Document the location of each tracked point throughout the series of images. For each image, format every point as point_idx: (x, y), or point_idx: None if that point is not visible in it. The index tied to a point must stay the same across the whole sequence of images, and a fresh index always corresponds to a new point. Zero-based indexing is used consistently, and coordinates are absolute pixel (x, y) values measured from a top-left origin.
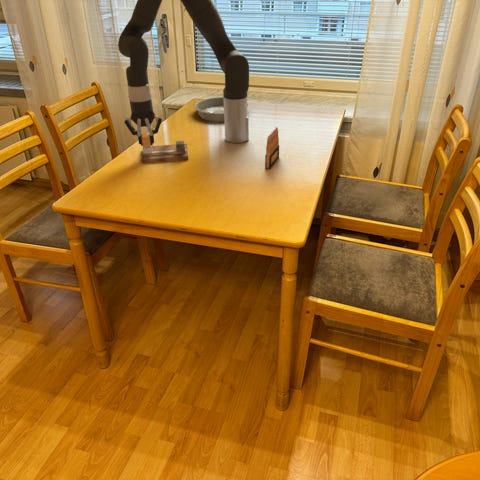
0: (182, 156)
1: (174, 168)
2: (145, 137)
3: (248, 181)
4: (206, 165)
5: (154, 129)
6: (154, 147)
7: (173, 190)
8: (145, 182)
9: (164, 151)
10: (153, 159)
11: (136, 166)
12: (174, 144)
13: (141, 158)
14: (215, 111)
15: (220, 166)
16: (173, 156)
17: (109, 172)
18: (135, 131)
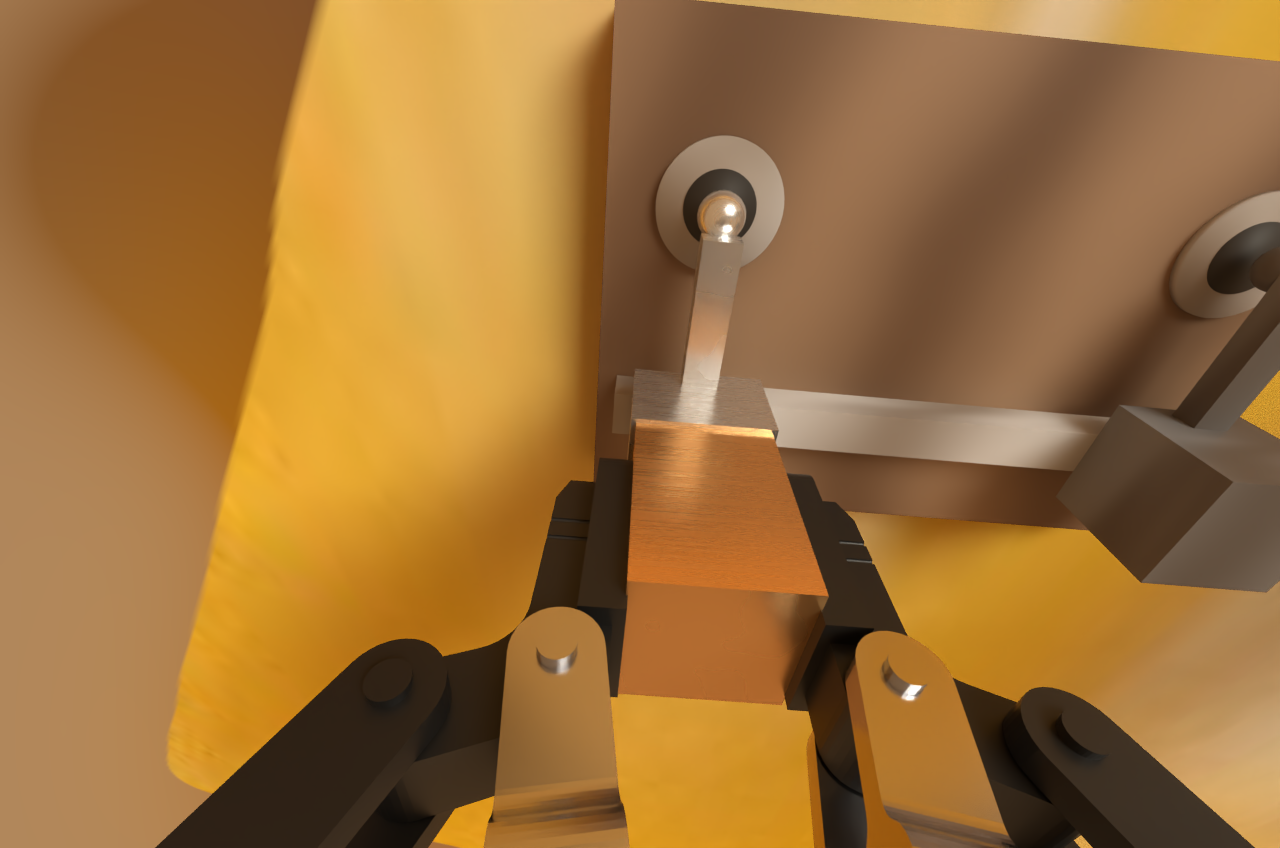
0: (1062, 526)
1: None
2: (695, 695)
3: (1216, 800)
4: (1159, 621)
5: (1018, 808)
6: (829, 118)
7: (775, 790)
8: (624, 713)
9: (915, 441)
10: None
11: (544, 509)
12: (1252, 61)
13: (594, 471)
14: None
15: (1245, 654)
16: (968, 507)
17: (311, 556)
18: (450, 796)
